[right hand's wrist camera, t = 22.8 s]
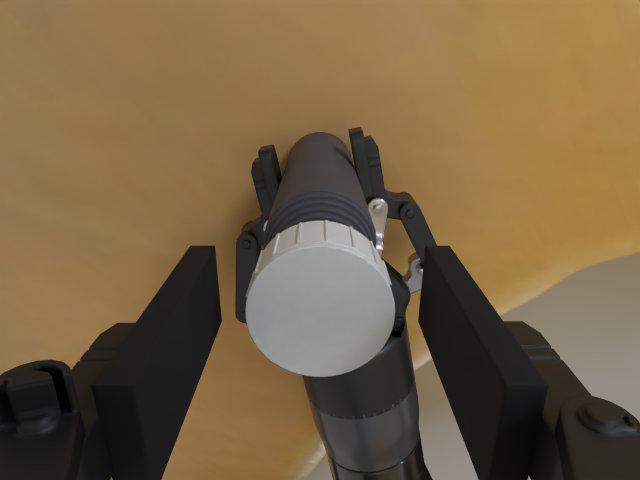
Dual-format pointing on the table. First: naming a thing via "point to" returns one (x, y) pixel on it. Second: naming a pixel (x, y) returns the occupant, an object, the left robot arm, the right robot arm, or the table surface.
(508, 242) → the table surface
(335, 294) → the cap
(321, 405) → the left robot arm
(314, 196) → the bottle
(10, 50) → the table surface
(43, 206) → the table surface
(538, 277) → the table surface
